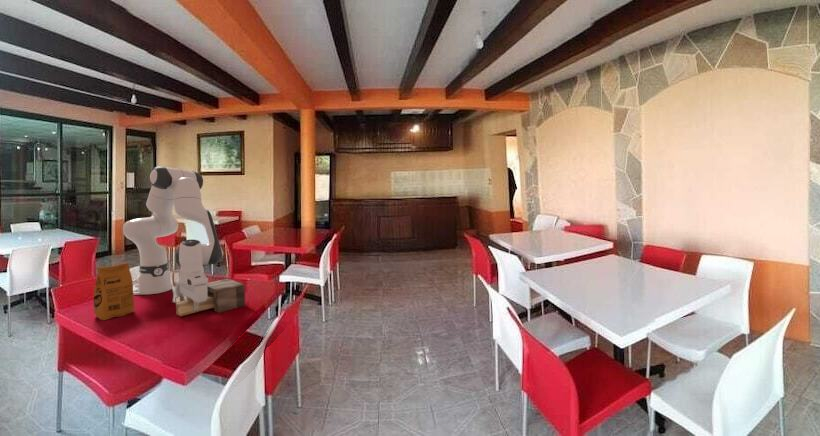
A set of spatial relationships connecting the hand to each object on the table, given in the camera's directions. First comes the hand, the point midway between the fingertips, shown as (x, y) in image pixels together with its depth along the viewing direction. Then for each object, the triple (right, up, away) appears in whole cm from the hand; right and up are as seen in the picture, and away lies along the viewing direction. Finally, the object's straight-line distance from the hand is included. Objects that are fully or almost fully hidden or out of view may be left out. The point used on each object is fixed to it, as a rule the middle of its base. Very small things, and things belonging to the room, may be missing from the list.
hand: (193, 307), depth 151 cm
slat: (+2, -2, +3) cm, 4 cm away
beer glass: (-16, -1, +14) cm, 21 cm away
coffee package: (-32, -2, -4) cm, 32 cm away
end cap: (+8, -2, +11) cm, 13 cm away
